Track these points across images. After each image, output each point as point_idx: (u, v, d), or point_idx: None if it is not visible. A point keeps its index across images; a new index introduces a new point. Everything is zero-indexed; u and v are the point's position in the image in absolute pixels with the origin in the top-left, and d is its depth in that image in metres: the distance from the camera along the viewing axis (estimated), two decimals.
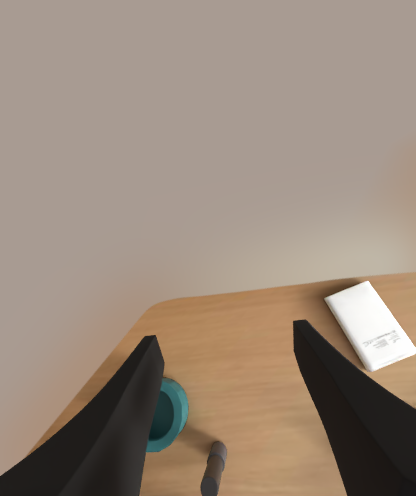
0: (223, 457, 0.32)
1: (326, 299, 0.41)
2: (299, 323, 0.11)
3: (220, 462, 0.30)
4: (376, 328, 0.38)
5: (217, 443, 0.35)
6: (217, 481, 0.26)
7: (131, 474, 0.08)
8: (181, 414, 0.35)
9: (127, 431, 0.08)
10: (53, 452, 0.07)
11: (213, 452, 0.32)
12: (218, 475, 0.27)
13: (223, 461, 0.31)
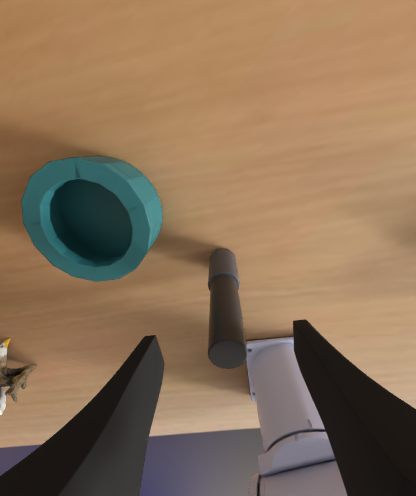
0: (236, 275, 0.18)
1: None
2: (299, 323, 0.11)
3: (235, 288, 0.16)
4: None
5: (220, 252, 0.20)
6: (243, 340, 0.12)
7: (131, 474, 0.08)
8: (147, 221, 0.16)
9: (127, 431, 0.08)
10: (53, 451, 0.07)
11: (218, 271, 0.17)
12: (241, 322, 0.13)
13: (237, 281, 0.17)
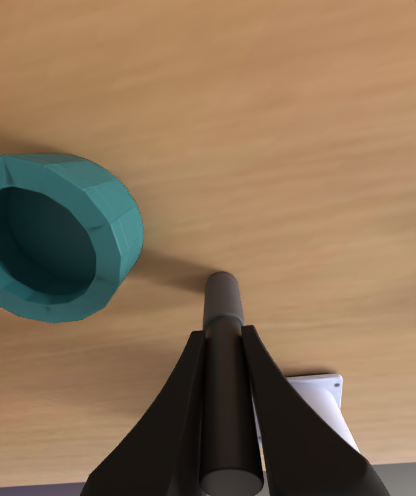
0: (241, 315, 0.13)
1: None
2: (245, 329, 0.11)
3: (240, 339, 0.11)
4: None
5: (219, 278, 0.16)
6: (257, 457, 0.07)
7: None
8: (115, 245, 0.11)
9: (195, 426, 0.08)
10: (140, 447, 0.06)
11: (216, 311, 0.13)
12: (251, 411, 0.08)
13: (242, 325, 0.13)
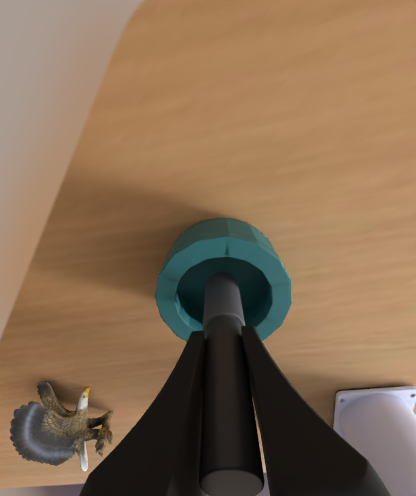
0: (241, 315, 0.13)
1: None
2: (245, 329, 0.11)
3: (240, 339, 0.11)
4: None
5: (219, 278, 0.16)
6: (258, 457, 0.07)
7: None
8: (289, 296, 0.15)
9: (195, 426, 0.08)
10: (139, 446, 0.06)
11: (217, 311, 0.13)
12: (251, 412, 0.08)
13: (242, 325, 0.13)
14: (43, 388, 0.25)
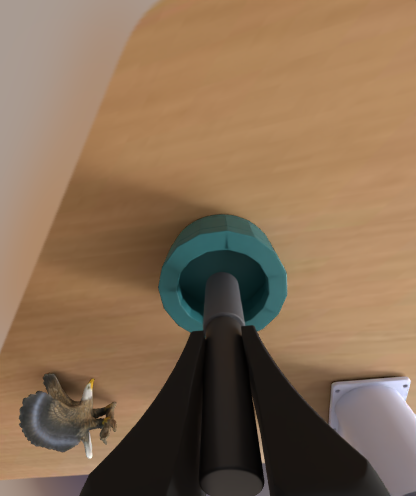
0: (241, 315, 0.13)
1: None
2: (245, 328, 0.11)
3: (240, 339, 0.11)
4: None
5: (219, 278, 0.16)
6: (257, 457, 0.07)
7: None
8: (285, 287, 0.16)
9: (195, 426, 0.08)
10: (139, 446, 0.06)
11: (217, 311, 0.13)
12: (251, 411, 0.08)
13: (242, 325, 0.13)
14: (49, 379, 0.26)
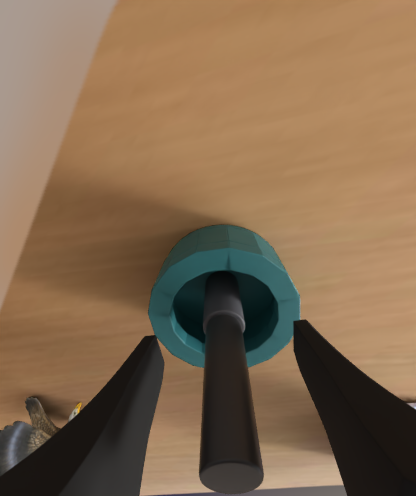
0: (241, 313, 0.13)
1: None
2: (299, 323, 0.11)
3: (239, 337, 0.12)
4: None
5: (219, 276, 0.16)
6: (257, 451, 0.07)
7: (131, 474, 0.08)
8: (297, 312, 0.14)
9: (127, 431, 0.08)
10: (53, 451, 0.07)
11: (216, 309, 0.13)
12: (250, 407, 0.09)
13: (242, 323, 0.13)
14: (31, 404, 0.24)
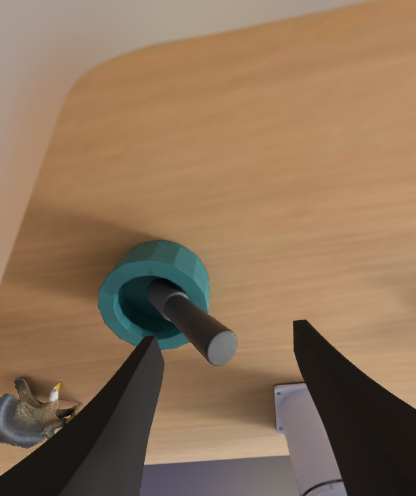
0: (184, 294, 0.19)
1: None
2: (299, 323, 0.11)
3: (191, 302, 0.17)
4: None
5: (157, 282, 0.21)
6: (229, 330, 0.13)
7: (131, 474, 0.08)
8: (205, 306, 0.19)
9: (127, 431, 0.08)
10: (53, 451, 0.07)
11: (168, 294, 0.18)
12: (216, 320, 0.14)
13: (188, 299, 0.18)
14: (19, 383, 0.29)
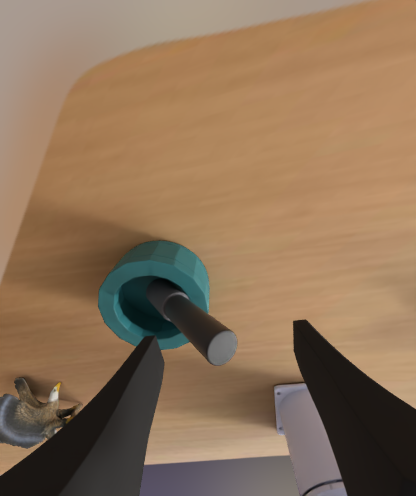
0: (184, 294, 0.19)
1: None
2: (299, 323, 0.11)
3: (191, 302, 0.17)
4: None
5: (157, 282, 0.21)
6: (229, 330, 0.13)
7: (131, 474, 0.08)
8: (205, 306, 0.19)
9: (127, 431, 0.08)
10: (53, 451, 0.07)
11: (168, 294, 0.18)
12: (216, 320, 0.14)
13: (188, 299, 0.18)
14: (19, 383, 0.29)
